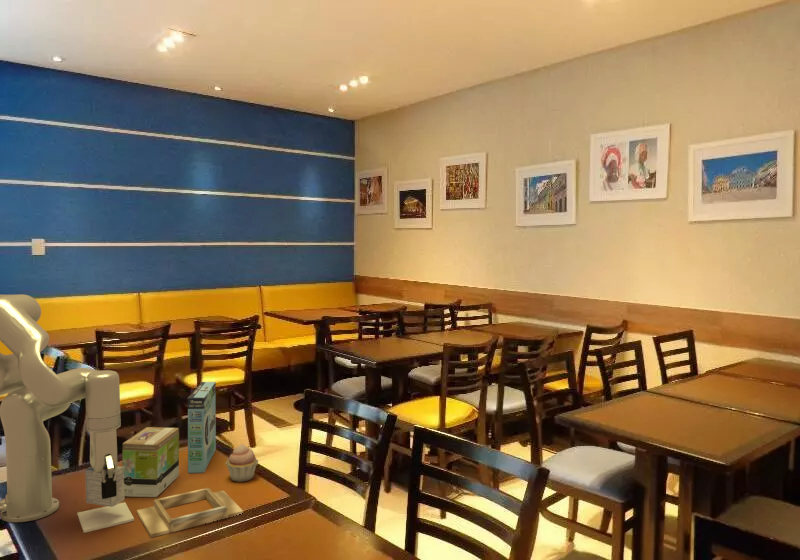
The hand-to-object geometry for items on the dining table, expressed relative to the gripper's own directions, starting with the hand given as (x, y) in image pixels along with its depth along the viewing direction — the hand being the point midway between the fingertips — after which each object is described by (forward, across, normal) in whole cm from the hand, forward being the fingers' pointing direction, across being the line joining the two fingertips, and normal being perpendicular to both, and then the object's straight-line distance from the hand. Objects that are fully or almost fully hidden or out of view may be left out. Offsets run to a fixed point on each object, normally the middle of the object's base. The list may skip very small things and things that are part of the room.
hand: (105, 490), depth 149 cm
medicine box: (+3, 0, 0) cm, 3 cm away
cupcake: (+8, -6, +37) cm, 38 cm away
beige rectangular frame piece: (+7, +9, +18) cm, 21 cm away
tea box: (+7, -14, +14) cm, 21 cm away
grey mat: (+7, 0, 0) cm, 7 cm away
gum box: (+7, -25, +31) cm, 41 cm away
